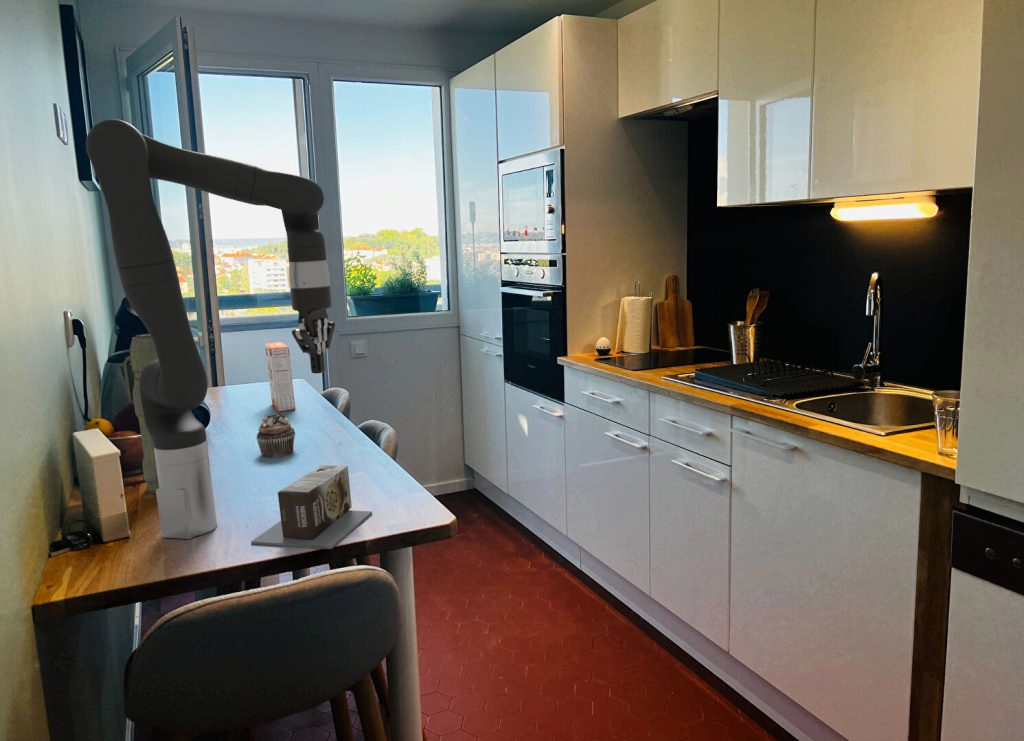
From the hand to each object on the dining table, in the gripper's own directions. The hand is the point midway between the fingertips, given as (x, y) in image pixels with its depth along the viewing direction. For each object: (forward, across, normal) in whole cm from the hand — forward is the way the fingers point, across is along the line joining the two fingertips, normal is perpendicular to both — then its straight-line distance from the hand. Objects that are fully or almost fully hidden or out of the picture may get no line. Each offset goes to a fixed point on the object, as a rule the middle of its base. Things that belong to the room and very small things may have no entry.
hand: (318, 372), depth 150 cm
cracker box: (+28, +83, +63) cm, 108 cm away
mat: (+28, -11, -3) cm, 30 cm away
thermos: (+28, +6, +45) cm, 53 cm away
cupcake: (+28, +34, +34) cm, 56 cm away
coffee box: (+23, -2, -3) cm, 23 cm away
